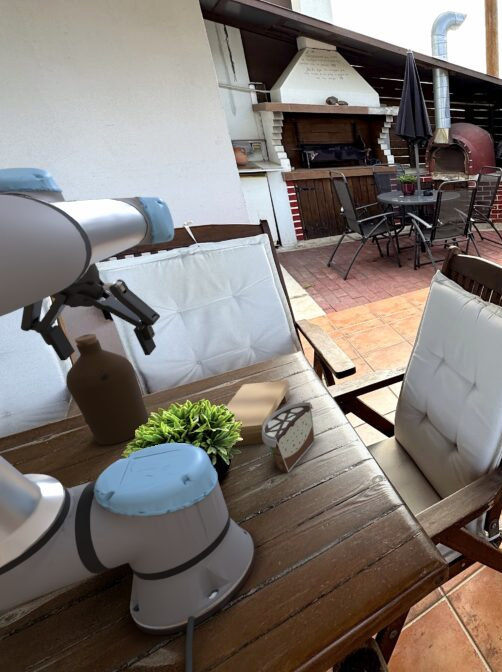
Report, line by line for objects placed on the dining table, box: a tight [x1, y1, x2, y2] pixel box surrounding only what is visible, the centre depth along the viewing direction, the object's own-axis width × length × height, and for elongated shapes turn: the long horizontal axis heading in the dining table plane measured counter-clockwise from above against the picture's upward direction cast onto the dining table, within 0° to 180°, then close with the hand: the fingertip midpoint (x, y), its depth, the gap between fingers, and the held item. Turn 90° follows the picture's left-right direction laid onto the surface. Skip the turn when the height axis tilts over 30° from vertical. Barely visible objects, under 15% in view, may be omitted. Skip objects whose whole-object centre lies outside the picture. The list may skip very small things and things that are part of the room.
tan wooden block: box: [225, 379, 291, 447], centre depth 97 cm, size 18×11×5 cm, turn 10°
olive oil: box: [65, 333, 150, 446], centre depth 90 cm, size 11×11×25 cm
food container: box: [262, 401, 316, 474], centre depth 86 cm, size 12×6×10 cm, turn 172°
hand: (110, 353), depth 80 cm, fingers open, 13 cm apart
